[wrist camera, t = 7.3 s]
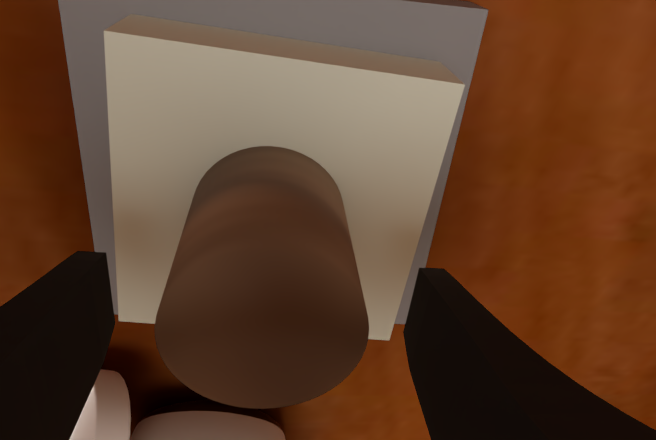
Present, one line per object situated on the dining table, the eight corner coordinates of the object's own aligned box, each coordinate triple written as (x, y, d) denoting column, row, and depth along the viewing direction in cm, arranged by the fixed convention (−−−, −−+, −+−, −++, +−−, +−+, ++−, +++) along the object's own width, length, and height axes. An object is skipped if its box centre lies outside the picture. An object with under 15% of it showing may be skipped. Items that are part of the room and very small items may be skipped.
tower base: (122, 274, 22) (104, 313, 19) (84, -43, 16) (52, -38, 13) (399, 286, 23) (411, 324, 21) (462, -2, 17) (488, 9, 15)
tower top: (137, 274, 19) (118, 321, 16) (130, 13, 14) (103, 30, 12) (377, 294, 20) (389, 340, 18) (439, 61, 15) (465, 84, 13)
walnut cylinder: (195, 275, 16) (163, 409, 11) (187, 141, 14) (144, 246, 9) (336, 278, 16) (356, 407, 12) (351, 149, 14) (382, 252, 10)
